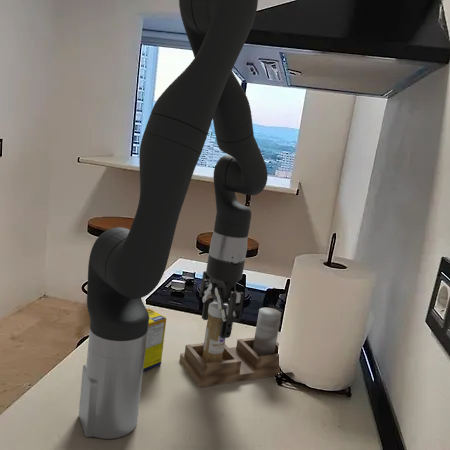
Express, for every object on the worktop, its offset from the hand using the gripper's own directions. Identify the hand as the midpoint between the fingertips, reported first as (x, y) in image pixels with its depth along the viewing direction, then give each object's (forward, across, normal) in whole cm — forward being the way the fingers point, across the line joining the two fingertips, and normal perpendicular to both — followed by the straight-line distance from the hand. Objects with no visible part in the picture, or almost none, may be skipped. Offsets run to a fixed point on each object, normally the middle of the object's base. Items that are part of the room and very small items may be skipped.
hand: (215, 327), depth 97 cm
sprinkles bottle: (+8, 0, 0) cm, 8 cm away
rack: (+10, 0, +7) cm, 12 cm away
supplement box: (+10, -6, -13) cm, 18 cm away
